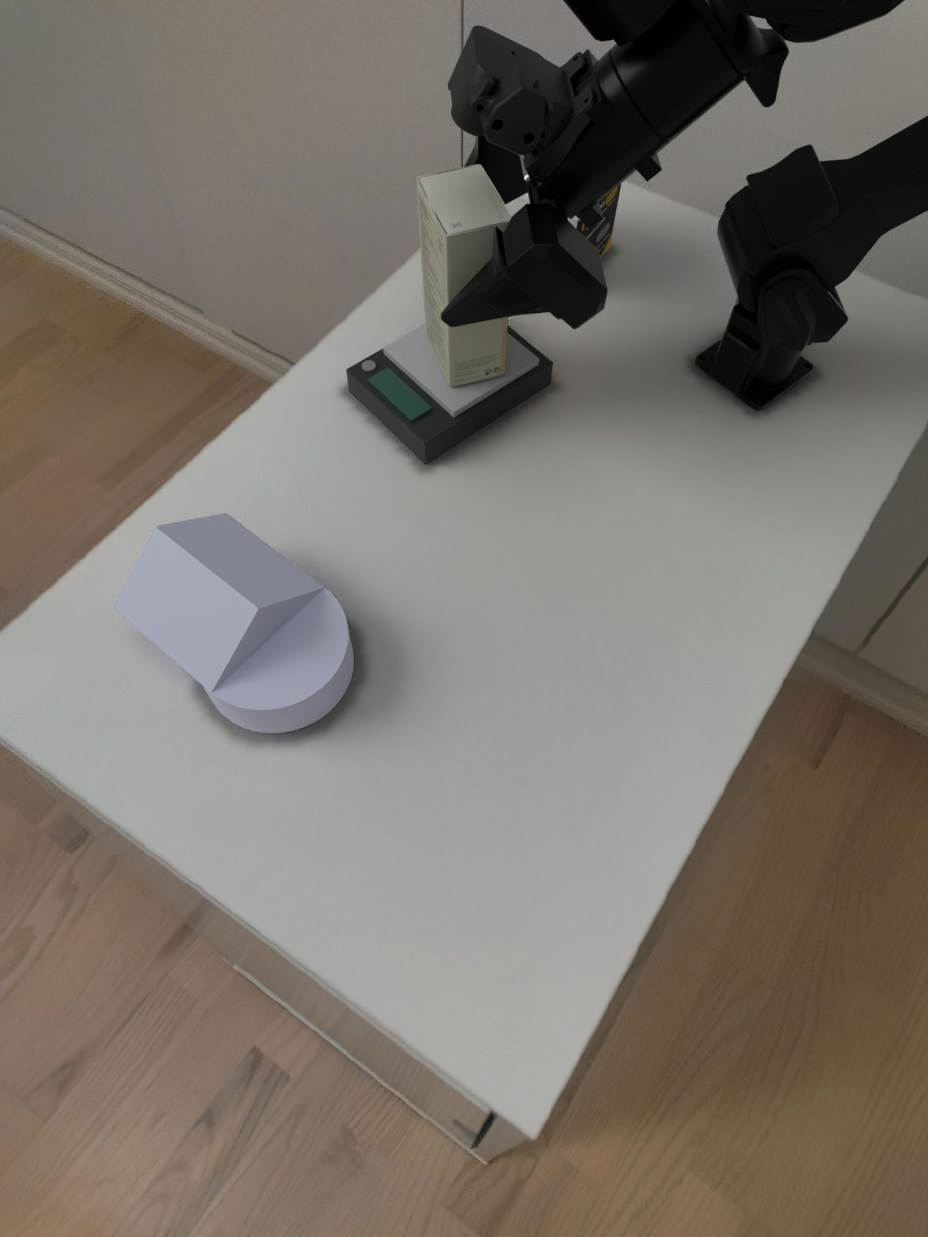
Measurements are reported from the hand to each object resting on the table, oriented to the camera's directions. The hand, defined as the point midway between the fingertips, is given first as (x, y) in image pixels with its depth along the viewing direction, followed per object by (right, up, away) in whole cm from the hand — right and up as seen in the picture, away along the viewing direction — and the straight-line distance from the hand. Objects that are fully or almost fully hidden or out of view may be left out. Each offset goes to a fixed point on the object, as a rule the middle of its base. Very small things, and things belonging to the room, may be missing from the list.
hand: (440, 274), depth 56 cm
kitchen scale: (+1, -5, +8) cm, 10 cm away
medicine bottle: (+9, +8, +16) cm, 20 cm away
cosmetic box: (+1, -3, +6) cm, 7 cm away
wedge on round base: (-11, -24, -3) cm, 27 cm away
